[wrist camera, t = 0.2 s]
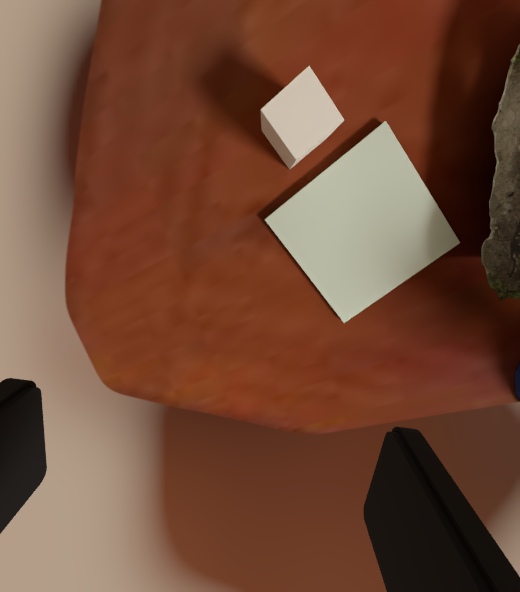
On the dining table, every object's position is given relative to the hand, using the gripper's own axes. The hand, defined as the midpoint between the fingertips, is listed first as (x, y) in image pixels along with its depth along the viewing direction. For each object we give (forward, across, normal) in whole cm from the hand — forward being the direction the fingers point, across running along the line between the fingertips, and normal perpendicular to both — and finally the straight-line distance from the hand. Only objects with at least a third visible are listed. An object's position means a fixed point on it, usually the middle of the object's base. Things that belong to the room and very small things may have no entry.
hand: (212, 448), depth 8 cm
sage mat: (+30, -12, -5) cm, 33 cm away
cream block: (+30, -3, -14) cm, 34 cm away
